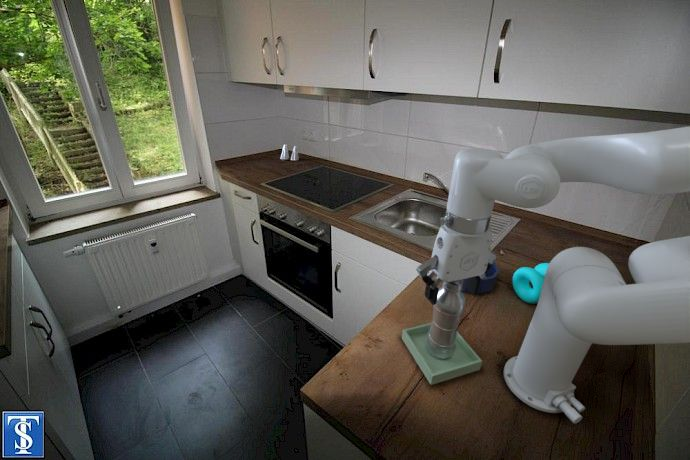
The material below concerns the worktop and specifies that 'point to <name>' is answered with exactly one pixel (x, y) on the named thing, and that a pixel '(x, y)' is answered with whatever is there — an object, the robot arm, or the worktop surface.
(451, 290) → the plastic bottle
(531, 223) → the worktop surface
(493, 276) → the blue ring
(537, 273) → the donuts
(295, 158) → the shaker set
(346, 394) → the worktop surface
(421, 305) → the worktop surface
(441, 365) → the tray
